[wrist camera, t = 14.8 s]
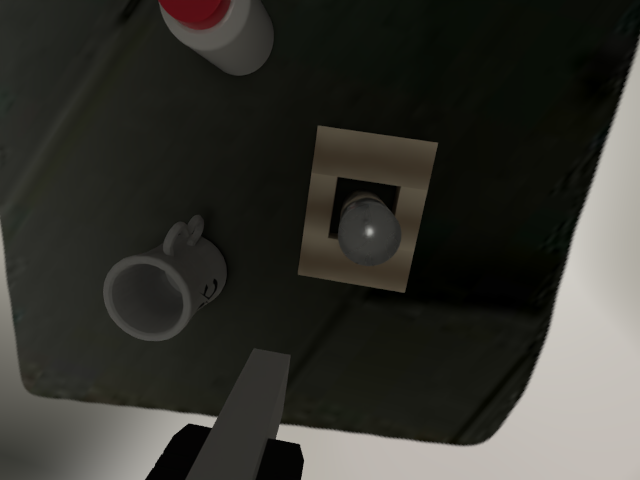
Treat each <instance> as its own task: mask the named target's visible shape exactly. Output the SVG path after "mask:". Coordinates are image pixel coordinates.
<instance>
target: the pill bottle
mask: <svg viewBox="0 0 640 480" xmlns="http://www.w3.org/2000/svg"><path fill="white" fill-rule="evenodd" d="M158 1H159V6H160V10H161V14H162V16H163V19H164V21H165V23H166V25H167V26H168V28H169V29H170V31H171V32H172V33H173V34H174V36H175V37H176V38H177V39H178V40H180V41H181V42H182V43H184V44H185V45H186V46H188V47H189V48H190V49H192V50H193V51H195V52H196V53H197V54H199V55H200V56H202V57H203V58H205V59H206V60H207V61H209V62H210V63H212V64H213V65H214V66H216V67H217V68H219V69H220V70H222V71H224V72H226V73H228V74H231V75H239V76H242V75H247V74H250V73H252V72H255V71H256V70H258V69H259V68H260V67H261V66H262V65H263V64H264V63H265V62H266V60H267V59H268V57H269V55H270V53H271V50H272V47H273V42H274V30H273V24H272V21H271V18H270V16H269V14H268V12H267V10H266V9H265V7H264V5H263V3H262V1H261V0H158Z"/></svg>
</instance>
